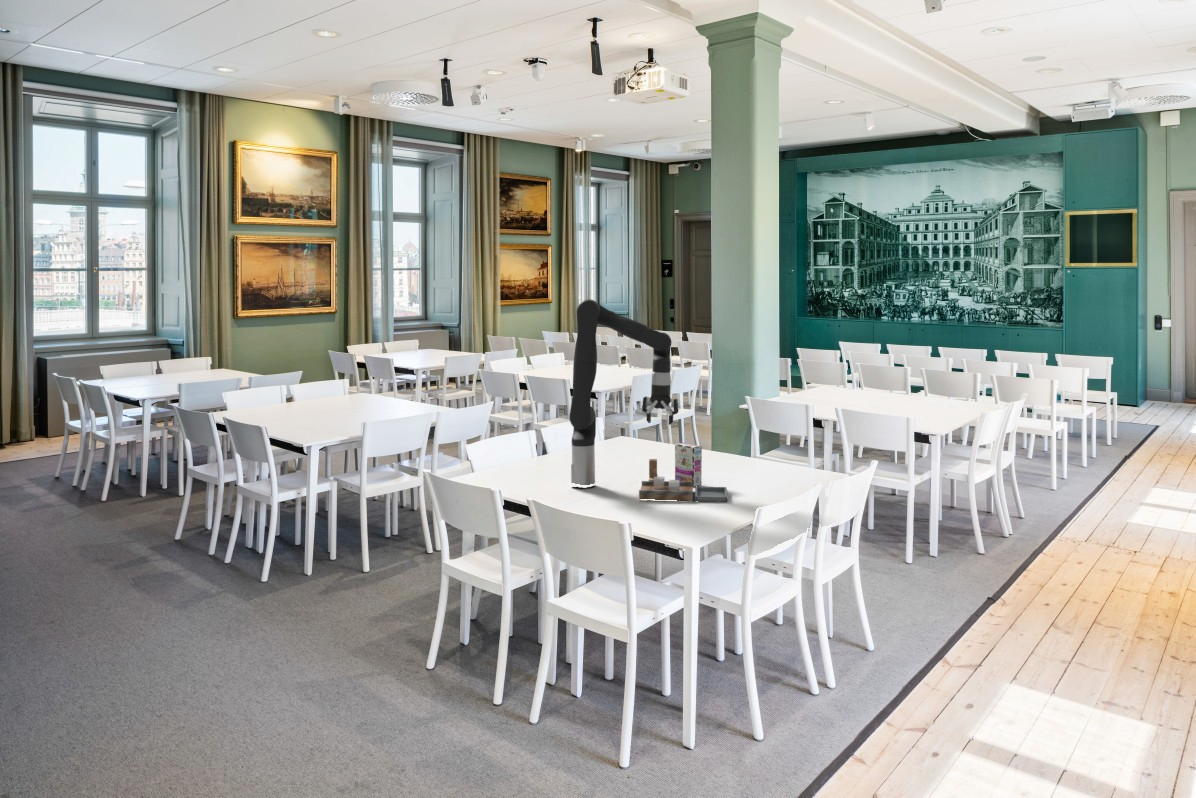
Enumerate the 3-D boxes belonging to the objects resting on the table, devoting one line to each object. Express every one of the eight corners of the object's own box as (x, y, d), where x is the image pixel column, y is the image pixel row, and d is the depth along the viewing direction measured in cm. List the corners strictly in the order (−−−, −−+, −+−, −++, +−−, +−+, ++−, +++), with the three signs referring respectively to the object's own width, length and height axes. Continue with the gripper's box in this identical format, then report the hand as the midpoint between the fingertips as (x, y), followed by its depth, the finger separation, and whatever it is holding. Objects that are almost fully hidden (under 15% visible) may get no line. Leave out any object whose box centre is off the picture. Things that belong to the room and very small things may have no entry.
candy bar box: (702, 486, 363) (702, 445, 360) (693, 487, 360) (693, 447, 357) (683, 481, 371) (683, 442, 369) (674, 482, 368) (674, 443, 366)
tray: (695, 501, 338) (695, 496, 337) (695, 491, 353) (695, 486, 353) (727, 502, 336) (727, 497, 336) (726, 492, 352) (726, 487, 352)
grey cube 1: (653, 489, 348) (653, 478, 347) (654, 486, 352) (654, 476, 351) (664, 489, 347) (663, 479, 347) (664, 486, 351) (664, 476, 351)
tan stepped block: (648, 489, 358) (648, 462, 356) (650, 483, 369) (650, 456, 367) (656, 489, 358) (656, 462, 356) (657, 483, 368) (657, 456, 367)
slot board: (639, 501, 340) (639, 490, 339) (641, 490, 356) (641, 480, 355) (692, 501, 338) (692, 491, 337) (692, 491, 353) (692, 481, 353)
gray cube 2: (668, 492, 342) (668, 482, 342) (669, 489, 346) (669, 479, 346) (679, 492, 342) (679, 482, 341) (679, 490, 346) (679, 479, 345)
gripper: (641, 383, 355) (640, 423, 358) (676, 385, 351) (675, 426, 354) (646, 381, 363) (644, 420, 365) (680, 383, 358) (679, 423, 361)
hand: (659, 423), depth 359 cm, fingers open, 8 cm apart
